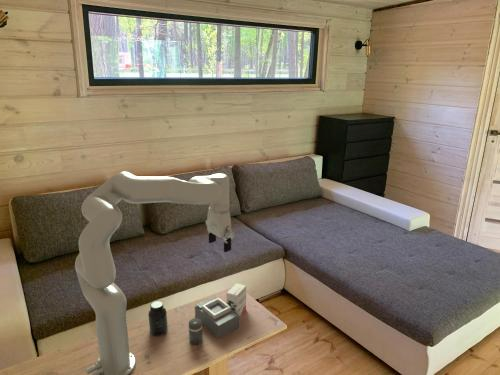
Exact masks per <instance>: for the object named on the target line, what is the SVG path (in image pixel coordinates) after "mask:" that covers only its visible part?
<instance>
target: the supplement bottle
mask: <svg viewBox="0 0 500 375" xmlns="http://www.w3.org/2000/svg"><path fill="white" fill-rule="evenodd" d="M149 306H150V309H149V310H148V316H147V317H148V324H149V325H148V326H149V332H150V334H151V335H153V336H157V337H158V336H159V337H160V336H162V335H164V334H165V333H167V332H168V328H169V327H168V315H167V309H166V308H165V307H164V303H163V301H160V300H155V301H152V302H151V304H150V305H149Z"/></svg>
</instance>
